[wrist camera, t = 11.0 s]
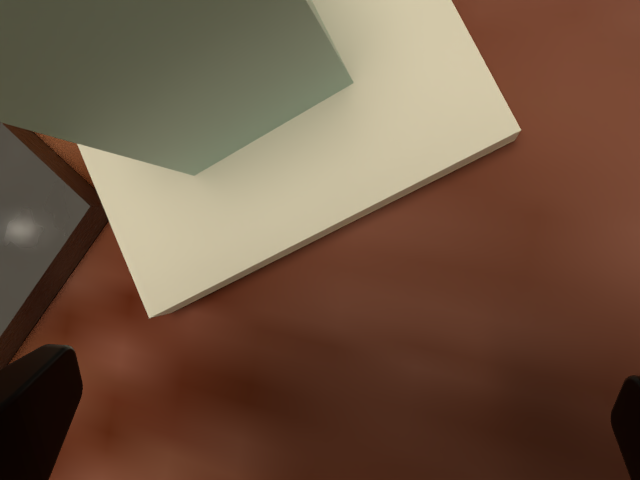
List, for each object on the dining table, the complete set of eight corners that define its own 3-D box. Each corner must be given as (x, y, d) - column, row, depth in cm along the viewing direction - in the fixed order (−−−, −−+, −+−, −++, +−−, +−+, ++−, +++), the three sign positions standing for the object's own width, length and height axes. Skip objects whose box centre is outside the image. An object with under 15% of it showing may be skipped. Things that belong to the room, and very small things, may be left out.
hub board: (514, 140, 16) (542, 95, 11) (171, 312, 19) (79, 335, 15) (334, -197, 18) (292, -361, 13) (44, 10, 21) (-76, -60, 16)
